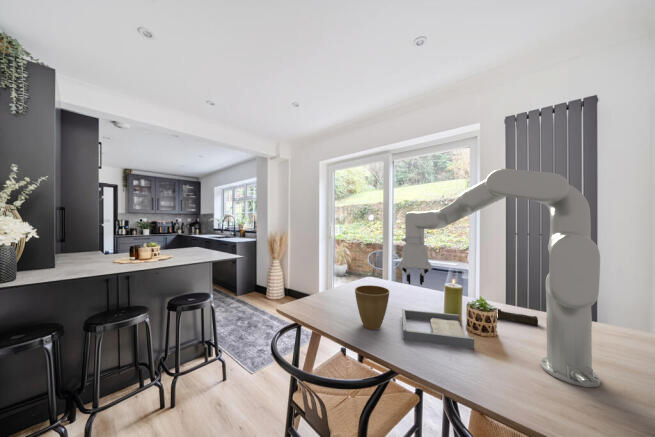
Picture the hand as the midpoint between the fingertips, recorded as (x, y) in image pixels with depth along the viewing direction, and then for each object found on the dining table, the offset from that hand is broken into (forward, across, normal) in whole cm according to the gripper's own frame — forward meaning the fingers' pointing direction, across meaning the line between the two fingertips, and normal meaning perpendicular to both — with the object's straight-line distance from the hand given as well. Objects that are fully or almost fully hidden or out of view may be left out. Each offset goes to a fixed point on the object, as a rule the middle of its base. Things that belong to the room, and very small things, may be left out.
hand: (415, 283), depth 101 cm
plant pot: (+20, -18, -2) cm, 27 cm away
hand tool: (+20, +42, +19) cm, 50 cm away
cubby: (+19, +7, 0) cm, 20 cm away
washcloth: (+20, +12, 0) cm, 23 cm away
